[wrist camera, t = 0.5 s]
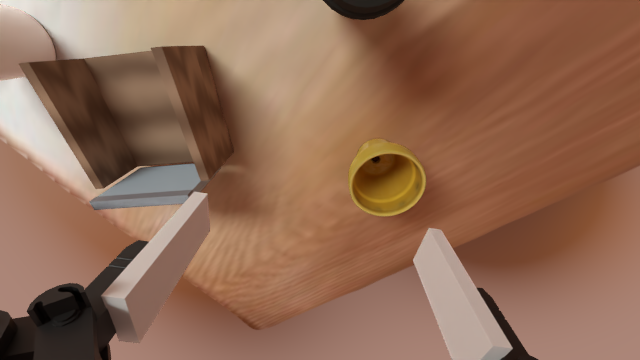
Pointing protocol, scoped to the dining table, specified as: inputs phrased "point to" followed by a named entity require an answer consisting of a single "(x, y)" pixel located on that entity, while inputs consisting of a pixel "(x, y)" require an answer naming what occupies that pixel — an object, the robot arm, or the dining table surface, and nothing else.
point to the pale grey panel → (152, 188)
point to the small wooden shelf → (135, 110)
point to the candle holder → (21, 42)
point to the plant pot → (385, 178)
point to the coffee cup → (363, 8)
